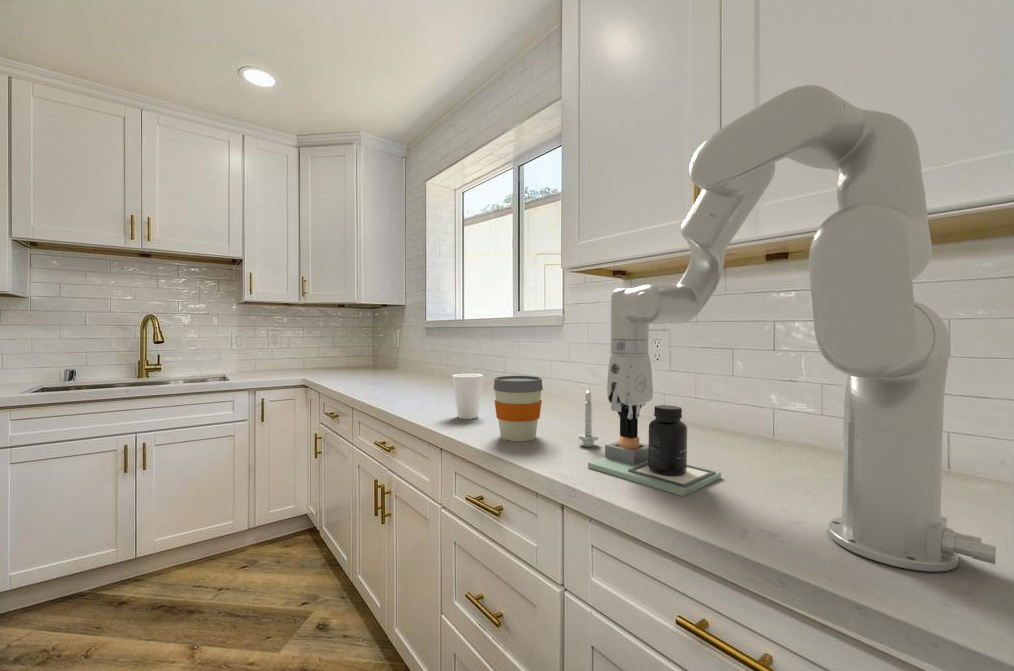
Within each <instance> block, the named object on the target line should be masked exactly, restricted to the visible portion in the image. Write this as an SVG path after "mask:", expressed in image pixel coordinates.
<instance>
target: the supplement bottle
mask: <svg viewBox="0 0 1014 671" xmlns="http://www.w3.org/2000/svg"><path fill="white" fill-rule="evenodd" d="M682 412H683V409H682V407H680V406H677V405H668V404H665V405H664V404H662V405H660V404H659V405H654V413H653V416H654V418H655V419H652V420H651V421H650V422H649V424H648V445H649V450H648V466H649V469H650V470H651V471H652V472H655V473H657V474H661V475H668V476H679V475H683V474H685V473H686V471H687V464H688V427H687V425H686V424H685V422H683V420H681V419H683V413H682Z"/></svg>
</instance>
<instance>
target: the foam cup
mask: <svg viewBox="0 0 1014 671" xmlns="http://www.w3.org/2000/svg"><path fill="white" fill-rule="evenodd" d="M451 378H452V385H453V393H454V401H455V405H456V415H457V418H458V417H459V419H461V418H463V419H465V420H472V418H473V419H476V418H478V417H479V412H480V402H481V395H482V394H481V393H482V386H483V383H484V381H483V380H484V379H483V378H484V376H483V374H481V373H456V374H452V377H451ZM463 419H462V420H463Z"/></svg>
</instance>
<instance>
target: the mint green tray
mask: <svg viewBox="0 0 1014 671" xmlns="http://www.w3.org/2000/svg"><path fill="white" fill-rule="evenodd" d="M648 450H649V444H645V443H641V442H639V448H638V449H634V450H630V449H626V448H622V447H619V440H618V441H615V442H612V443H608V444H605V445H604V457H601V458H598V459H595V460H592V461H588V463H587V468H588V469H593V470H595V471H597V472H602V473H605V474H608V475H612V476H615V477H618V478H622V479H624V480H626V481H627V480H628V481H631V482H634V483H638V484H640V485H644V486H647V487H651V488H654V489H658V490H661V491H664V492H667V493H670V494H674V495H678V496H680V497H685V496H687V495H689V494H691V493H693V492H695V491H697V490H699V489H701V488H703V487H705V486H707V485H709V484H711V483H713V482H715V481H718V480H719V479H721V478H722V472H721V471H716V470H712V469H708V468H704V467H700V466H697V465H692V464H688V463H687V471H686V473H685V474H683V475H679V476H668V475H661V474H657V473H655V472H652V471H651V470H650V469H649V466H648Z"/></svg>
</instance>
